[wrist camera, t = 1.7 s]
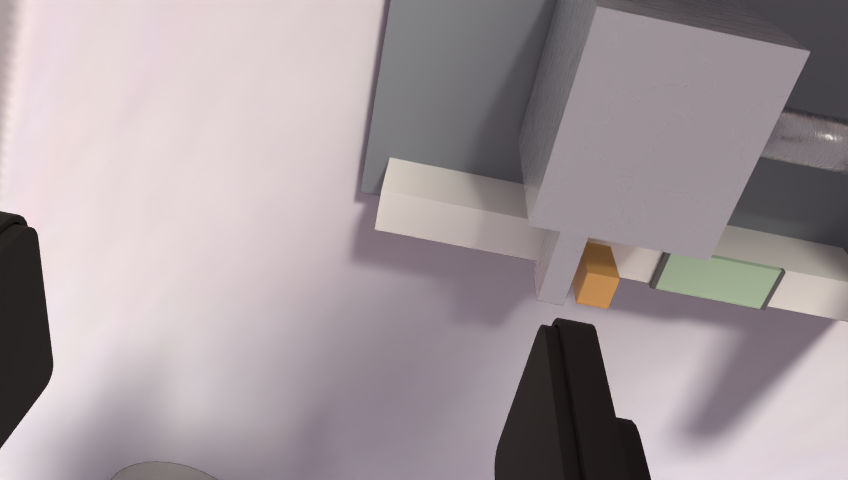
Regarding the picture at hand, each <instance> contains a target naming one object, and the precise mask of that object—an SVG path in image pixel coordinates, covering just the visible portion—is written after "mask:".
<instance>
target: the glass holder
mask: <svg viewBox="0 0 848 480" xmlns="http://www.w3.org/2000/svg"><path fill="white" fill-rule="evenodd" d="M111 480H216V479H215V478H213V477H211V476H209V475H208V474H206V473H204V472H201V471H199V470H196V469H194V468H191V467H187V466H184V465H180V464H175V463H169V462H145V463H140V464H135V465H132V466H129V467H127V468H124V469H123V470H121V471H120V472H118V473H117V474H116V475H115V476H114V477H113V478H112V479H111Z"/></svg>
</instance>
